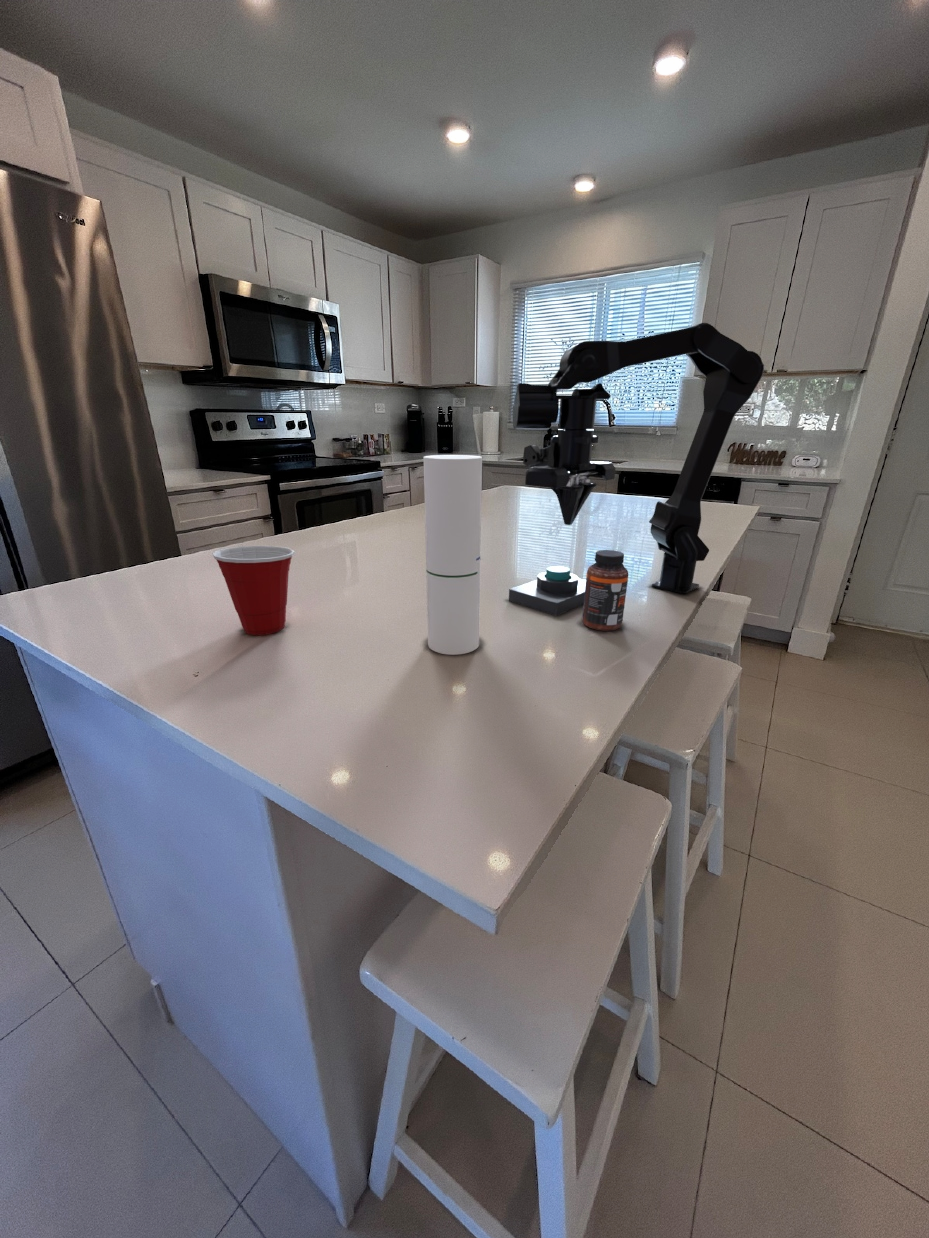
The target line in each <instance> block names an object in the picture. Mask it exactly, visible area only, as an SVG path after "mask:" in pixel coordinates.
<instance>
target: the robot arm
mask: <svg viewBox="0 0 929 1238" xmlns="http://www.w3.org/2000/svg"><path fill="white" fill-rule="evenodd" d="M683 355H686V357H688V358H689V359H690V361H691V362H692V364H693V366H694V367H695V369H696V370H697V371H698V372H699V373H700V374H701V375H702V376H703V377H705V381H704V386H703V392H702V395H703V412H702V414H701V416H700V417H701V418H700V420H699V422H698V423H699V424H698V425H697V427H696V428H697V429H696V430H695V434H694V436H693V439H692V442H691V445H690V447H689V450H688V453H687V455H686V458H685V461H684V463H683V466H682V469H681V471H680V474H679V477H678V479H677V482H676V484H675V487H674V490H673V492H672V494H671V496H670V497H669V498H668V499H667V500H666V501H665V502H662V501H660V500H658V501H657V502H656V503H655V507H654V511H653V514H652V517H651V518H650V519H649V520H648V523H649V524H650V530H649V531H650V534H651V537H652V538H653V540H654V541H656V544H657V548H658V550H659V551H662V552H663V556H662V562H661V570H660V575H659V580H657V581H655V582H652V583H651V587H652V588H657V589H660V590H664V591H668V592H672V593H673V592H674V593H678V594H682V595H686V594H688V593H691V592H692V591H695V590H696V589H698V588H699V587H700V584H699V583H696V582H694V578H695V573H696V567H697V562H703V561H705V559H706V558H707V556H708V554H709V552H710V548H709V547H708V546H707V545H706V544H705V542H704V541H703V540H702V539H701V538H700V537H699V532H700V528H701V524H702V507H701V506H702V505H701V502H702V499H703V496H704V494H705V491H706V488H707V486H708V483H709V481H710V478H711V475H712V473H713V471H714V468H715V466H716V463H717V461H718V458H719V455H720V452H721V450H722V449H723V446H724V443H725V440H726V438H727V435H728V433H729V430H730V428H731V425H732V423H733V420H734V417H735V416H736V414H737V413H738V412H739V411H740V410H741V408H742V407H744V405H745V404H746V403H747V402H748V401H749V400H750V398H751V397H752V396H753V394H754V392H755V390H756V388H757V387H758V385H759V384H760V381H761V380H762V377H763V375H764V371H765V364H764V363H763V360H762V357H761V356H760V355H759V353H757V352H755V351H753V350H748V349H746V348H745V346H744V345H742V344H741V343H739V342H737V341H736V340H734V339H732V338H730V337H728V336H727V335H725V334H723V333H721V332H720V331H719V330H718V329H717V328H716V327H715V326H714V325H712V324H710V323H708V322H700V323H697V324H695V325H692V326H689V327H685V328H680V329H675V330H671V331H667V332H662V333H657V334H653V335H648V336H644V337H639V338H634V339H630V340H625V341H615V340H584V341H581V342H579V343H577V344H575V345H573V346H571V347H569V348H568V349H566V350H564V353H563V354H562V355H561V358H560V361H559V367H558V368H559V369H558V370H557V371H556V373H555V374H554V376H553V377H552V378H551V379H550V381H549V382H548V384H530V383H523V382H522V383H521V382H519V383H517V384H516V392H515V395H514V401H513V406H512V413H511V416H512V417H511V418H512V428H513V429H514V430H549V429H551V425H552V424H556V423H557V421H558V429H557V435H552V437H550V445H548V446H546V447H539V446H538V445H537V444H529V445H527V446H524V448H523V455H522V463H523V465H524V466H525V467H529V468H528V469H527V470H526V471H525V478H524V479H525V480H524V485H525V486H532V487H541V488H549V489H551V491H553V492H554V494H555V495H556V498H557V501H558V504H559V508H560V512H561V516H562V519H563V524H564V525H566V526H571V525H573V523H574V522H575V520H576V518H577V516H578V515H579V513H580V511H581V510H582V508H583V506H584V504H585V503H586V501H587V499H588V498H589V496H590V495H591V493H592V492H593V490H594V488H596V487H597V485H598V484H597V483H596V482H595V483H594V482H591V478H597V479H603V480H604V481H611V480H615V477H616V467H615V465H614V464H613V462H609V461H592V453H593V444H598V443H599V436H597V435H594V429H595V420H596V410H597V401H603V400H604V401H605V400H609V399H610V398H611V394H610V393H609V392H608V391H607V390H606V389H605V387H604V386H603V383H602V382H601V383H600V382H598V383H594V386H592V387H589V388H586V387H585V388H584V387H583V388H582V387H579V388H578V387H576V388H574V387H575V386H579V385H584V384H589V383H591V382H594V381H596V380H599V379H602V378H604V377H607V376H609V375H611V374H613V373H615V372H617V371H619V370H621V369H622V370H623V369H624V368H628V367H632V366H636V365H642V364H645V363H651V362H656V361H660V360H665V359H670V358H673V357H679V356H683ZM573 388H574V389H573ZM571 389H573V390H572V393H571V394H570V395H569V394H568V395H567V394H566V395H565V394H563V395H562V394H557V392H562V391H567V390H571Z"/></svg>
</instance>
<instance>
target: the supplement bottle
mask: <svg viewBox="0 0 929 1238" xmlns="http://www.w3.org/2000/svg"><path fill="white" fill-rule="evenodd" d="M624 557H625V554H624V553H623V552H622V551H619V550H614V549H613V550H612V549H601V550H597V551H596V552H595V556H594V561H595V563H593V564H591V565H589V567H587V571H586V577H585V580H586V586H585V596H584V604H583V605H582V607H583V608H582V617H581V618H582V619H581V620H582V623H583V625H585V626H586V627H587V628H590V629H591V630H596V631H603V632H610V631H616V630H618V629H620V628H621V627H622V624H623V621H624V620H623V619H624V613H625V604H626V598H627V591H628V590H627V589H628V581H629V570H628V568H626V567H625V566H624V560H625V559H624Z"/></svg>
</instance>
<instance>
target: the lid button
mask: <svg viewBox="0 0 929 1238" xmlns="http://www.w3.org/2000/svg"><path fill="white" fill-rule="evenodd" d="M545 572H546V578H547V579H550V580H557V581H563V580H569V579H570V573H571V569H570V568H569V567H566V566H563V565H552V566H551V565H550V566H548V567H546V571H545Z"/></svg>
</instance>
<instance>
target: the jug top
mask: <svg viewBox="0 0 929 1238" xmlns="http://www.w3.org/2000/svg"><path fill="white" fill-rule="evenodd" d="M585 586H586V579H585V578H580V577H579V576H578V575H577V574H575V573H573V572H570V579H569V580H563V581H557V580H550V579H547V578H546V571H542V572H540V573H538V574H537V576H536V579H534V580H531V581H529V582H526V583H523V584H520V585H517V586H514V587H511V588H509V589H508V602H511V603H514V604H518V605H521V606H524V607H527V608H530V609H533V610H537V611H539V612H543V613H546V614H550V615H553V616H556V617H557V616H559V615H561V614H564V613H567V612H569V611H571V610H573V609H575V608H578V607H581V606H583V605H584V596H585Z"/></svg>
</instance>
